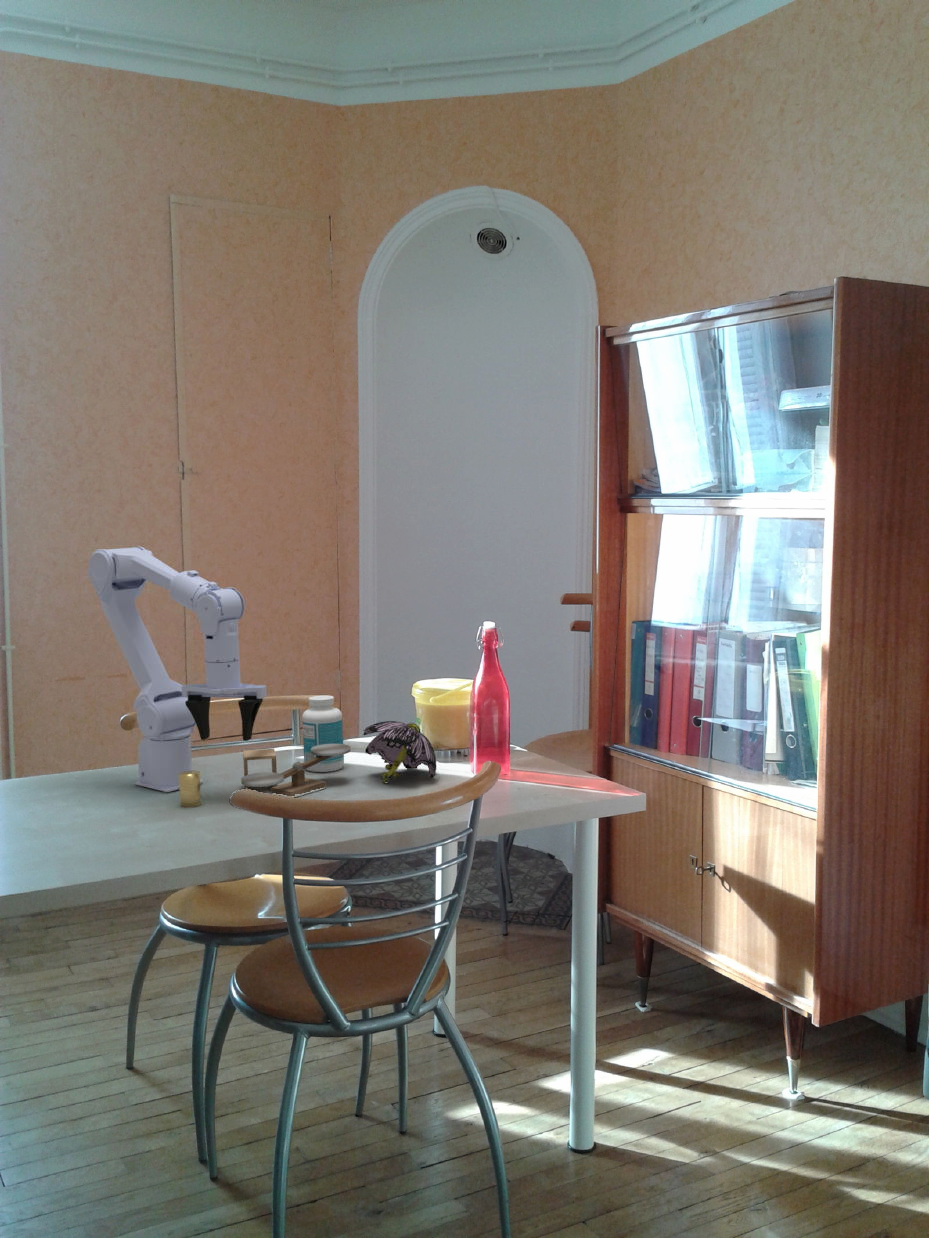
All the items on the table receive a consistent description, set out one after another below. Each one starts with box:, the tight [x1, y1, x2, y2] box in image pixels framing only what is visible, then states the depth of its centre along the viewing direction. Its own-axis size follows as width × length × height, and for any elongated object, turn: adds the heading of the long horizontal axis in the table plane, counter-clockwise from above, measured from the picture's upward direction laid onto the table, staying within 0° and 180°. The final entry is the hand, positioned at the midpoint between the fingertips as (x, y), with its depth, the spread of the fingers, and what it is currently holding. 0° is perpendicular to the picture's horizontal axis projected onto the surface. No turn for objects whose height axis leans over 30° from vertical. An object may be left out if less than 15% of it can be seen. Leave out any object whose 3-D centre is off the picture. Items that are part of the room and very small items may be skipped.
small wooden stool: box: [242, 748, 278, 789], centre depth 195 cm, size 5×5×6 cm
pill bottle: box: [301, 695, 345, 773], centre depth 208 cm, size 8×7×14 cm
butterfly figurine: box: [362, 720, 437, 783], centre depth 200 cm, size 14×12×15 cm
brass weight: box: [178, 770, 202, 809], centre depth 186 cm, size 3×3×5 cm
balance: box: [240, 743, 351, 796], centre depth 193 cm, size 7×23×6 cm, turn 142°
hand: (226, 739), depth 190 cm, fingers open, 7 cm apart
